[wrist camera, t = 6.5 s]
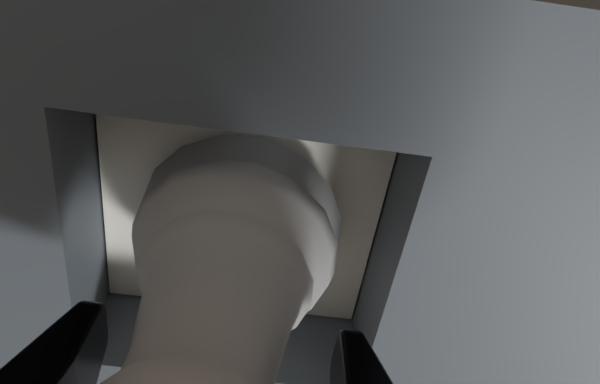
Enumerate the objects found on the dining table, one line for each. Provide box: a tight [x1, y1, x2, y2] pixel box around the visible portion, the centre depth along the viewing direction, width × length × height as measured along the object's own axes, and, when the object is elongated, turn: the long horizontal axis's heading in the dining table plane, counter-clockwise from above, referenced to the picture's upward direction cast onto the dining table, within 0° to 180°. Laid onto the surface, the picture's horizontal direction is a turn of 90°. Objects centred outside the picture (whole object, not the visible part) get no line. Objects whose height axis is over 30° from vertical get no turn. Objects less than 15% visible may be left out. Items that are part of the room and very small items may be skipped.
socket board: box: [0, 0, 600, 384], centre depth 12 cm, size 18×12×2 cm, turn 82°
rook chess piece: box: [100, 135, 342, 384], centre depth 9 cm, size 4×4×8 cm
